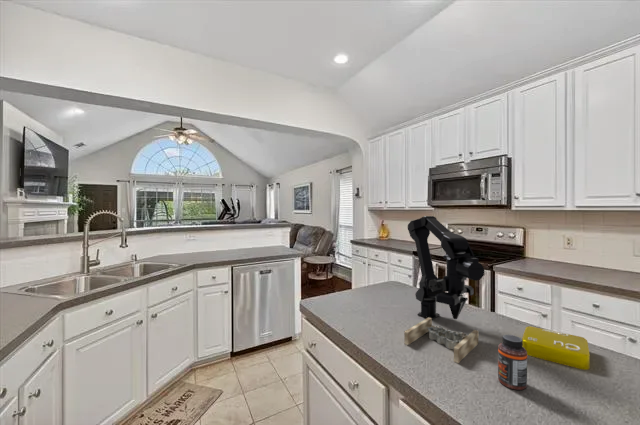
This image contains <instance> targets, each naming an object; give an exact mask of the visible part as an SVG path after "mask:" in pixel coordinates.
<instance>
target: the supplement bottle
mask: <svg viewBox="0 0 640 425" xmlns="http://www.w3.org/2000/svg"><path fill="white" fill-rule="evenodd" d="M522 345H523V344H522V337H519V336H517V335H513V334H504V335H502V342H500V343H499V344H498V346H497V347H498V348H497V377H498V378H497V379H498V382H499V383H501V384H502V385H503V386H504V387H507V388H509V389H510V390H511V389H512V390H516V391H523V390H526V388H527V386H528V355H527V351H526V349H525V348H524V347H522Z"/></svg>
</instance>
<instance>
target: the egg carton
mask: <svg viewBox="0 0 640 425" xmlns="http://www.w3.org/2000/svg"><path fill="white" fill-rule="evenodd" d="M437 327H439V328H437ZM427 328H428V327H427ZM428 330H429V332H428V339H429V340H431V341H436V343H437V344H438V345H444V346H445V348H446V349H449V350H451V349H452V350H454V347H455V346H456V345H457V344H459V343H460V342H461V341H462V340H463V338H464V337H465V336H466V335H467V334H466V333H465V332H462V331H456V330H454V331H453V330H451V329H446V328H444V327H442V326H438V325H437V326H436V327H430V328H428Z"/></svg>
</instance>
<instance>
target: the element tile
mask: <svg viewBox="0 0 640 425" xmlns="http://www.w3.org/2000/svg"><path fill="white" fill-rule="evenodd" d="M521 339H522V344H523V345H522V347H524V348H525V349H526V351H527V356H530V357H533V358H536V359H541V360H545V361H549V362H552V363H554V364H555V363H556V364H559V365H564V366H568V367H572V368H575V369H578V370H585V371H586V370H590V368H591V367H590V366H591V363H590V362H591V361H590V360H591V359H590V358H591V355H590V349H589V348H590V347H589V343H588V342H589V341H588V340H587V339H586V338H585V337H583V336H579V335H575V334H570V333H564V332H559V331H555V330H552V329H547V328H540V327H537V326H531V325H529V326H526V327H525V329H524V331H523V334H522V337H521Z"/></svg>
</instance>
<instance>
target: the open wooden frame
mask: <svg viewBox="0 0 640 425" xmlns="http://www.w3.org/2000/svg"><path fill="white" fill-rule="evenodd" d="M427 327H428V328H430V327H436V326H435V325H433V319H432V318H429V317H428V318H425V319H423V320H421V321H420V322H418V323H417V324H415V325H413V326H411V327H409V328H408V329H406V330H405V331H404V335H403V336H404V337H403V338H404V342H403V343H404V345H406V346H410V345H411V344H412V343H413V342H415V341H417V340H418V339H420V338H421V337H423V336H424V335H425V334H427V333H429V330H428V328H427ZM437 328H439V326H437ZM479 337H480V335H479V330H476V329H474V330H472V331H471V332H470V333H469V334H468V335H467V334H466V336H465V337H464V338H463V340H462V341H461V342H460V343H459V344H457V345H456V346H455V347H454V349H453V362H454V363H456V364H460V362H461V361H462V360H463V359H464V358H466V357H467V356H468V354H470V352H471V351H473V349H475V348H476V347H477V346H478V344H479V341H480V340H479Z"/></svg>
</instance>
